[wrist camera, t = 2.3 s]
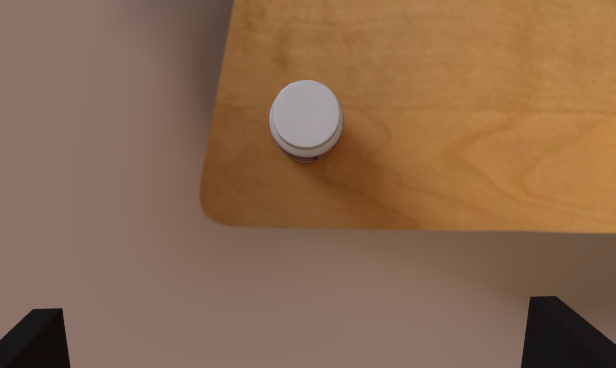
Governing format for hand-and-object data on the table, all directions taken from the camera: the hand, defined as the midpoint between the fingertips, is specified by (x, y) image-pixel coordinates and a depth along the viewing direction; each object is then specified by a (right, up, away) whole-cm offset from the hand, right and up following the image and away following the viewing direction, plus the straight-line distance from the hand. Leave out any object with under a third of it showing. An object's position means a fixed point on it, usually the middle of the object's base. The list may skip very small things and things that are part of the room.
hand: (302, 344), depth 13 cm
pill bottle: (0, +9, +22) cm, 24 cm away
